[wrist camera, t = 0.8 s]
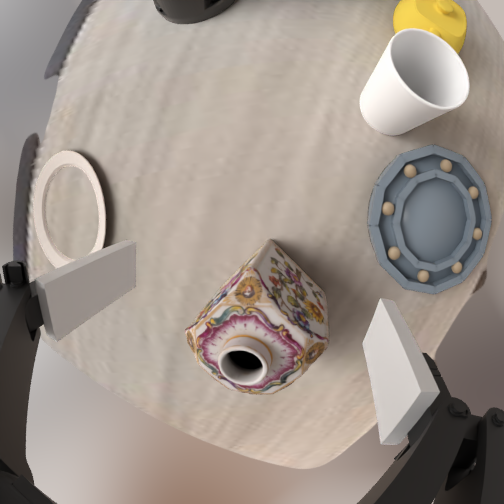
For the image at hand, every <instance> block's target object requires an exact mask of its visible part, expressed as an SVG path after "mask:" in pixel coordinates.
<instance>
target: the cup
mask: <svg viewBox="0 0 504 504" xmlns="http://www.w3.org/2000/svg"><path fill="white" fill-rule="evenodd" d="M469 88H470V83H469V77H468V73H467V70H466V68H465V65H464V63H463V62H462V60H461V58H460V57H459V55H458V54H457V53H456V51H455V50H454V49H453V48H452V47H451V46H450V45H449V44H448V43H447V42H445V41H444V40H443V39H441V38H440V37H438V36H437V35H435V34H433V33H431V32H428V31H425V30H422V29H415V28H410V29H404V30H401V31H399V32H398V33H396V34H395V35H394V36H393V37H392V39H391V40H390V42H389V44H388V46H387V48H386V49H385V51H384V53H383V55H382V57H381V59H380V60H379V62H378V64H377V66H376V68H375V69H374V71H373V73H372V75H371V77H370V78H369V80H368V82H367V84H366V86H365V87H364V89H363V91H362V93H361V96H360V109H361V113H362V115H363V117H364V119H365V120H366V122H367V123H368V124H369V125H370V126H371V127H372V128H373V129H375V130H376V131H378V132H380V133H382V134H385V135H390V136H396V135H401V134H403V133H405V132H407V131H409V130H411V129H413V128H415V127H417V126H420V125H422V124H424V123H426V122H428V121H430V120H432V119H434V118H436V117H438V116H441V115H443V114H445V113H447V112H449V111H451V110H453V109H456V108H457V107H459V106H460V105H462V104H463V103H464V102H465V100H466V99H467V97H468V94H469Z"/></svg>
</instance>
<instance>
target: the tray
mask: <svg viewBox="0 0 504 504" xmlns="http://www.w3.org/2000/svg"><path fill="white" fill-rule="evenodd" d="M444 159H447V160H449V161H450V162H451V164H452V169H451V171H450V172H444V171H443V170H442V169H441V167H440V163H441V161H442V160H444ZM408 164H411V165H413V166H414V167H415V168H416V171H417V173H416V175H415V177H413V178H408V177H406V176H405V174H404V167H405V166H406V165H408ZM484 184H485V183H484V182H483V181H482V179H481V178H480V176H479V175H478V174H477V172H476V171H475V170H474V168H473V167H472V166H471V164H470V163H469V162H468V161H467V159H466V158H465V157H463V156H462V155H460V154H458V153H455V152H453V151H450V150H447V149H445V148H442V147H440V146H437V145H433V144H432V145H429V146H425V147H422V148H418V149H415V150H412V151H408V152H405V153H402V154H399V155H397V156H396V157H395V159H394V160H393V161H392V162H391V163H389V165H388V166H387V167H386V168H385V169H384V170H383V172H382V173H381V174H380V176H379V177H378V179H377V181H376V183H375V185H374V188H373V191H372V193H371V197H370V201H369V207H368V221H367V224H368V225H367V226H368V231H369V236H370V241H371V244H372V247H373V249H374V252H375V254H376V258H377V261H378V263H379V264H380V265H381V266H382V267H383V268H384V269H385V270H386V271H387V272H388V273H389V274H390V275H391V276H392V277H393V278H394V279H395V280H396V281H397V282H398V283H399V284H400V285H401V286H402V287H403V288H404V289H407V290H413V291H418V292H424V293H429V294H434V293H435V294H437V293H439V292H441V291H444V290H446V289H448V288H451V287H453V286H455V285H457V284H459V283H462V280H463V281H464V280H465V279H466V278H467V276H468V275H469V274H470V273H471V271H472V270H473V269H474V267H475V266H476V265H477V264H478V262H479V261H480V259H481V258H482V257H483V254H484V252H485V248H486V244H487V240H488V236H489V231H490V227H491V222H492V221H491V219H492V218H491V212H490V206H489V201H488V196H487V191H486V186H485V185H484ZM471 186H474V187H476V188H477V189H478V192H479V194H478V197H477V198H476V199H472V197H471V195H470V193H469V192H468V189H469V188H470V187H471ZM384 202H391V203H392V204H393V205H394V212H393V214H392V215H389V216H387V215H384V214H383V213H382V210H381V209H382V204H383V203H384ZM476 227H477V228H480V229H481V231H482V237H481V238H480V239H479V240H475V239H474V238H473V237H472V236H473V232H474V228H476ZM392 246H396V247H398V248H399V250H400V257H399V258H398V259H396V260H392V259H390V258H389V256H388V250H389V248H390V247H392ZM458 261H459V262H460V263H461V264H462V270H461V272H459V273H454V272H453V271H452V269H451V266H452V265H454V264H455V263H457V262H458ZM420 270H427V271H428V273H429V279H428V280H427V281H426V282H420V281H419V280H418V277H417V275H418V272H419V271H420Z"/></svg>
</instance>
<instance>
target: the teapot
mask: <svg viewBox="0 0 504 504" xmlns="http://www.w3.org/2000/svg"><path fill="white" fill-rule="evenodd" d="M393 26H394V31H395V34H396V33H398V32H399V31H401V30H404V29H410V28H415V29H422V30H425V31H428V32H431V33H433V34H435V35H437V36H438V37H440V38H441V39H443V40H444V41H445V42H447V43H448V44H449V45H450V46H451V47H452V48H453V49H454V50H455V51H456V53H457V54H458V53H459V52H460V50H461V48H462V46H463V44H464V40H465V36H466V28H467V21H466V15H465V12H464V11H463V9H462V8H461V7H460V6H459V5H458V4H457V3H455V2H454V1H452V0H401V1H400V2H399V3H398V5H397V6H396V9H395V11H394V15H393Z"/></svg>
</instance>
